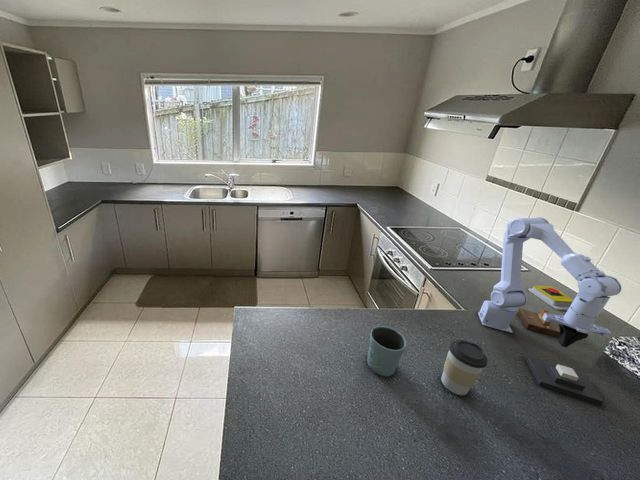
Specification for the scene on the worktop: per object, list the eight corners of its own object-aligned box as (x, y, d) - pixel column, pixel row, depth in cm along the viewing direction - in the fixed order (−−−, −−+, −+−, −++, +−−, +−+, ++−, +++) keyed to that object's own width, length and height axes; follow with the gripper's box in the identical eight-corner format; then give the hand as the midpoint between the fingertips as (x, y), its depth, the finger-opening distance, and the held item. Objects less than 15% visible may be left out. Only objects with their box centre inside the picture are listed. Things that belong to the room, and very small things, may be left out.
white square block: (560, 376, 86) (563, 372, 85) (554, 367, 89) (557, 363, 88) (576, 381, 84) (578, 377, 84) (569, 372, 88) (572, 368, 87)
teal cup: (402, 367, 91) (411, 339, 86) (388, 385, 85) (397, 356, 80) (373, 347, 98) (380, 321, 93) (358, 363, 92) (364, 335, 87)
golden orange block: (548, 325, 108) (553, 317, 106) (543, 324, 108) (547, 316, 107) (543, 317, 112) (547, 310, 110) (538, 316, 112) (542, 308, 111)
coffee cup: (455, 402, 80) (473, 364, 75) (430, 375, 88) (444, 339, 83) (479, 394, 83) (498, 357, 77) (452, 369, 91) (467, 333, 85)
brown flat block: (526, 328, 109) (529, 323, 108) (517, 313, 118) (519, 308, 117) (567, 339, 105) (570, 334, 104) (554, 322, 113) (557, 317, 112)
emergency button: (550, 282, 133) (584, 302, 119) (546, 289, 134) (579, 310, 120) (530, 281, 133) (562, 301, 119) (526, 289, 134) (557, 310, 120)
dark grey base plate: (538, 385, 86) (543, 377, 85) (526, 361, 95) (530, 353, 93) (600, 405, 81) (607, 397, 80) (581, 378, 89) (587, 370, 88)
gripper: (558, 311, 84) (538, 345, 89) (626, 328, 78) (601, 362, 84) (547, 298, 90) (530, 330, 95) (610, 312, 84) (587, 346, 90)
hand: (562, 344), depth 90 cm, fingers closed
